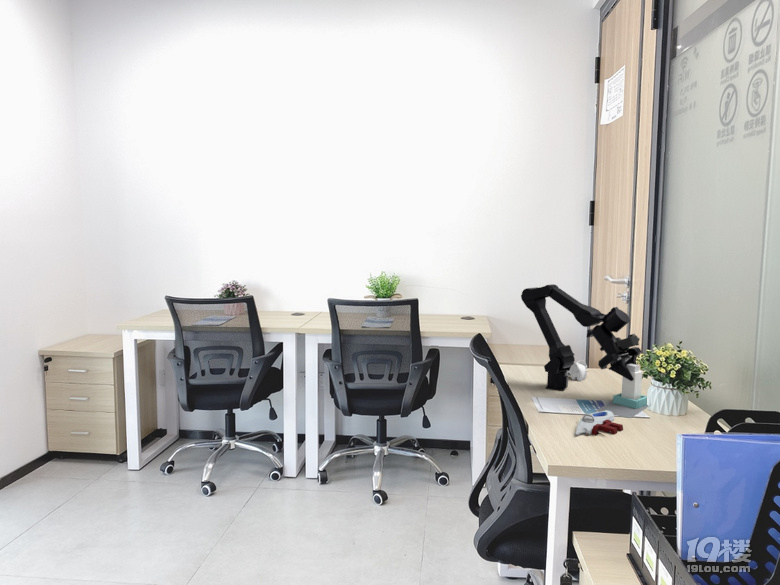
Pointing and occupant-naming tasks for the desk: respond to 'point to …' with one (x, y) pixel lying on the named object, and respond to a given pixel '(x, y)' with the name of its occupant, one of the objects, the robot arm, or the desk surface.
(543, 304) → the robot arm
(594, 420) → the spaceship
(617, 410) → the mat
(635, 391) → the grey square bottle
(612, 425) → the bracket
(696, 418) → the desk surface
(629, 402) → the holder
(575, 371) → the elephant figurine
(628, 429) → the desk surface
